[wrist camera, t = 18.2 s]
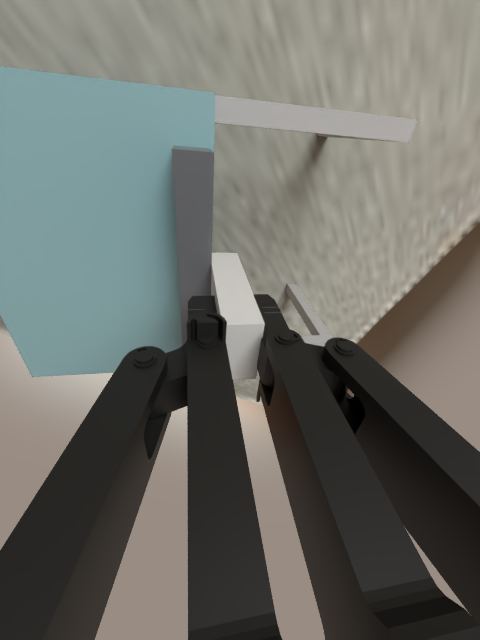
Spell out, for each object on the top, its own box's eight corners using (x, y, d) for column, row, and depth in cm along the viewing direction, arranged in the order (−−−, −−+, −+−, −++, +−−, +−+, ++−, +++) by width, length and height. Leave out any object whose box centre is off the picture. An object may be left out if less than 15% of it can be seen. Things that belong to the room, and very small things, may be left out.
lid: (37, 368, 19) (13, 406, 16) (-115, 54, 10) (-220, 29, 7) (208, 359, 21) (211, 392, 18) (214, 94, 12) (221, 85, 9)
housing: (75, 292, 28) (26, 366, 19) (13, 87, 18) (-134, 53, 10) (293, 291, 32) (332, 351, 23) (330, 122, 23) (417, 119, 14)
